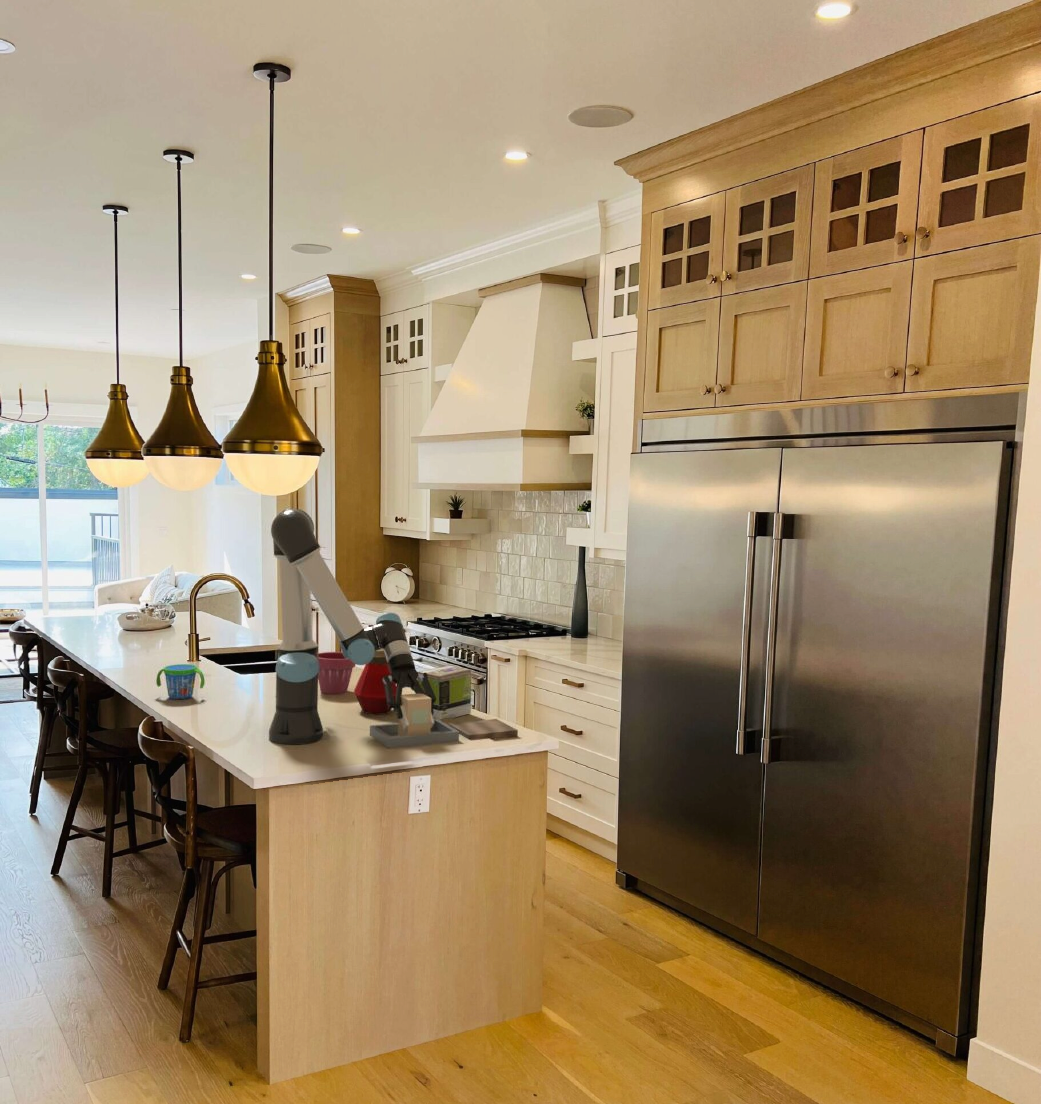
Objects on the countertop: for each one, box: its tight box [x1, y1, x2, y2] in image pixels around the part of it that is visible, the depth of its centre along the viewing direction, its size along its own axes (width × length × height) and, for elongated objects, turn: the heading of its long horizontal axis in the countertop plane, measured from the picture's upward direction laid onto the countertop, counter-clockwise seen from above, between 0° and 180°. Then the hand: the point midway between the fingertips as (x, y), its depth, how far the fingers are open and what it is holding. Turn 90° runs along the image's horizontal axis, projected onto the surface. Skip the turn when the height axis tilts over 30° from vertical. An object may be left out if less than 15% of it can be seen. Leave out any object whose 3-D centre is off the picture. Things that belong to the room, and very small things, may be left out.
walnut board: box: [448, 718, 519, 740], centre depth 287 cm, size 16×14×2 cm
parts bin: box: [369, 718, 460, 750], centre depth 277 cm, size 21×15×4 cm
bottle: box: [353, 649, 397, 715], centre depth 309 cm, size 16×14×20 cm
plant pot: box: [318, 651, 356, 695], centre depth 335 cm, size 14×14×13 cm
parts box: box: [397, 693, 431, 737], centre depth 276 cm, size 7×7×12 cm
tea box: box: [417, 665, 472, 721], centre depth 307 cm, size 15×10×15 cm, turn 141°
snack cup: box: [155, 663, 205, 700], centre depth 318 cm, size 16×11×10 cm
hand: (419, 726), depth 273 cm, fingers closed on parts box, 7 cm apart
